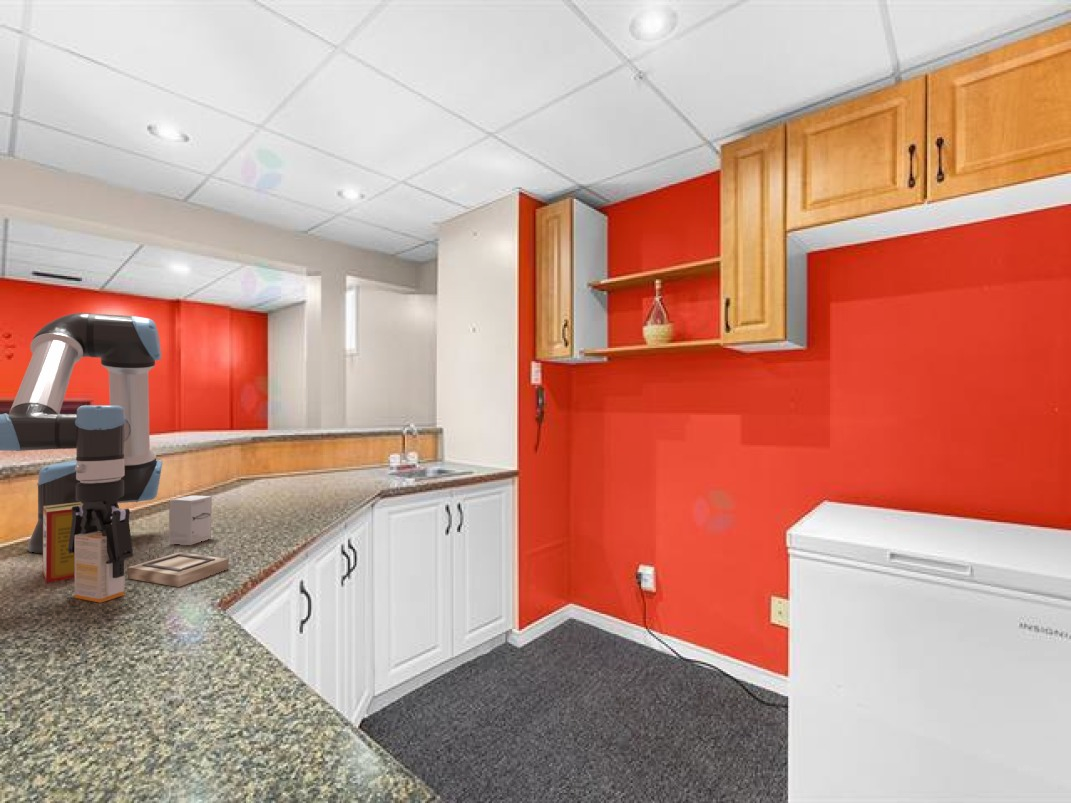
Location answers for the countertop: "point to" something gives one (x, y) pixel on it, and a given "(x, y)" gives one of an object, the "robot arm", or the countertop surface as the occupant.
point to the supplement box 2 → (190, 519)
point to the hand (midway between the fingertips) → (100, 590)
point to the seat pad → (178, 569)
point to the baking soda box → (57, 542)
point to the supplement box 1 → (92, 567)
